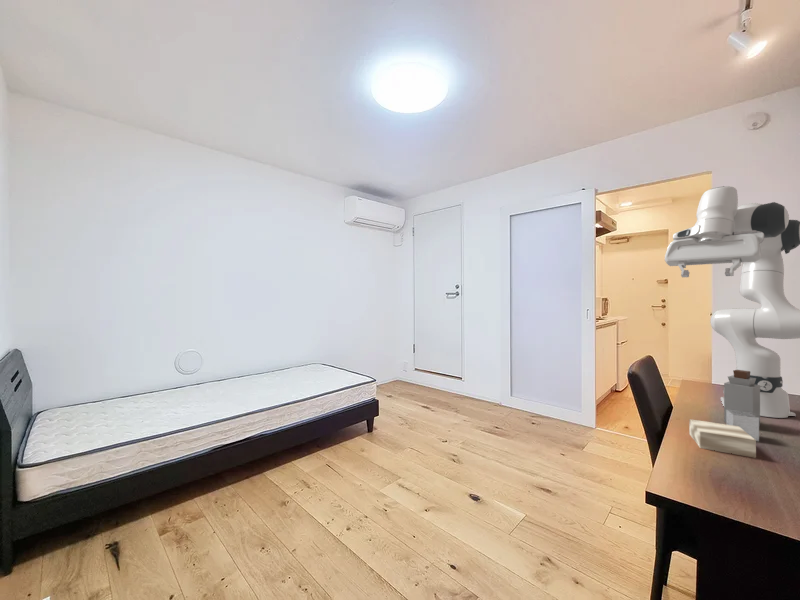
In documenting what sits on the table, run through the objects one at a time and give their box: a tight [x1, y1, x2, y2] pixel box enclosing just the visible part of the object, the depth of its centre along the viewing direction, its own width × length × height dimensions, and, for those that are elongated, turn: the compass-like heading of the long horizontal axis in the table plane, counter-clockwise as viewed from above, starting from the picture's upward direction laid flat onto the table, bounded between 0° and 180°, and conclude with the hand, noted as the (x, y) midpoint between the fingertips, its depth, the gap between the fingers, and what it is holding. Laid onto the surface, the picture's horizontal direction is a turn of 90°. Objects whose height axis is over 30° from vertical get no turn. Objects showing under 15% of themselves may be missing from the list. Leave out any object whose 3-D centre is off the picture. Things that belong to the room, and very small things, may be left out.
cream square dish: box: [688, 418, 757, 459], centre depth 91 cm, size 11×11×5 cm
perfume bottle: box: [723, 369, 761, 427], centre depth 107 cm, size 7×7×18 cm
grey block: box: [725, 409, 760, 442], centre depth 97 cm, size 6×6×7 cm
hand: (705, 276), depth 92 cm, fingers open, 8 cm apart
